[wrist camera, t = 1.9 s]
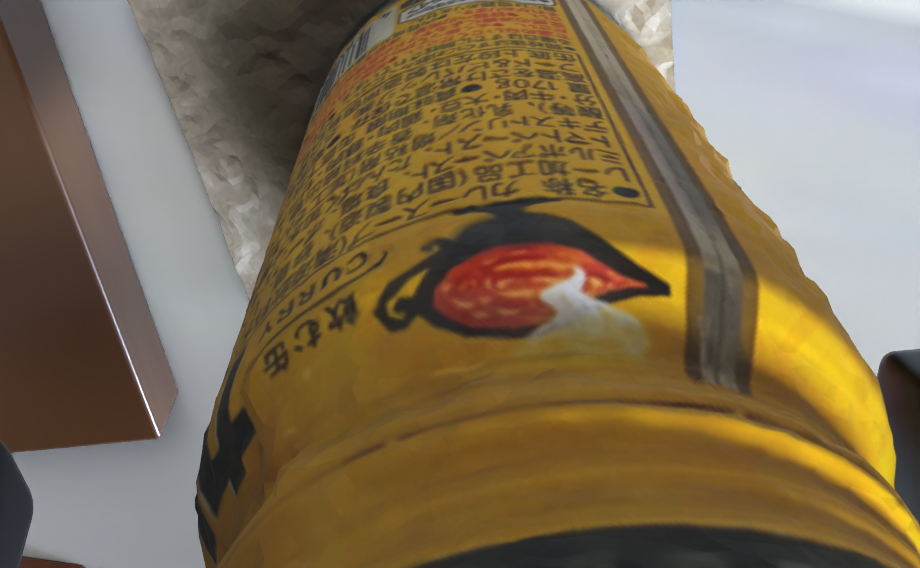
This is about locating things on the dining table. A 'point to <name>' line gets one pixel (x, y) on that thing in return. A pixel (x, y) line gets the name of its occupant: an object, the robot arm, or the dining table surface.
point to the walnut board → (65, 269)
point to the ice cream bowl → (44, 564)
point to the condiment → (507, 303)
